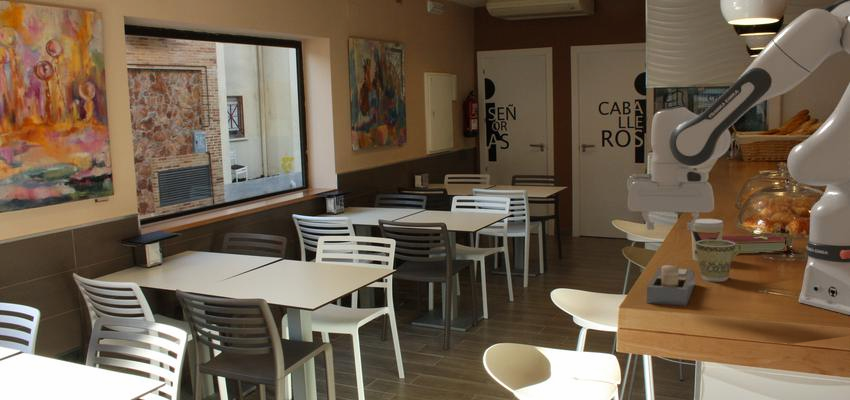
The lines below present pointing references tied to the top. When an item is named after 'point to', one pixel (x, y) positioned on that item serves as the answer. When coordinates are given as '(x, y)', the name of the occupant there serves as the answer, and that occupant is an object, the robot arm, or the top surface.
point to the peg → (669, 276)
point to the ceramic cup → (715, 258)
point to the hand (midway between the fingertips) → (670, 229)
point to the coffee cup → (706, 232)
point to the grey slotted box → (671, 289)
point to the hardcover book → (756, 243)
